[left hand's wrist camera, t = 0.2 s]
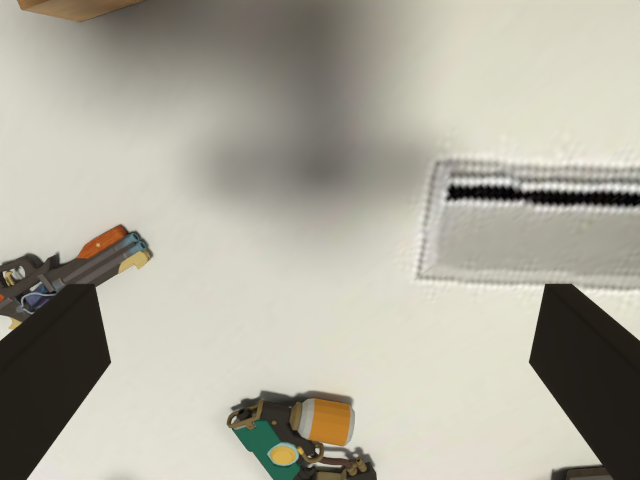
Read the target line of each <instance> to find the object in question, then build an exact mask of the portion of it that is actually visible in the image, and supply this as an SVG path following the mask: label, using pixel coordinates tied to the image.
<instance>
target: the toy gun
mask: <svg viewBox="0 0 640 480" xmlns="http://www.w3.org/2000/svg"><path fill="white" fill-rule="evenodd" d="M137 241H139V237H138V236H137V234H135V233H130V234H128V235H127V233H126V232H125V230H124V229H123V228H122V227H121V226H118V227H116V228H114V229H112V230H110V231H108V232H106V233H104V234H103V235H101V236H99V237H97V238H96V239H94V240H92V241H90V242H89V243H87V244H86V245H85V246H84V247H83V249H82V250H81V252H80V253H79V255H78V256H77V258H76V259H74V260H73V261H71V262H70V263H68V264H66V265H64V266H62V267H58V268H55V266H56V256H55V255H54V256H52V257H49V258H48V259H47V260H46V261H45V263H44V264H43V265H42V266H41V267H38V266H37V264H36V263H35V262H34V261H33V260H32V259H31V258H28V257H21V258H19V259H17V260H15V261H13V262H12V263H9V264H6V265H1V266H0V315H4V316H8V317H10V318H11V320H12V321H13V323H12V324H11V326H10V327H9V328H8V329H15V328H16V327H17V326H19V325H20V324H21V323H22V322H23V321H25V320H26V319H27V318H28V317H29V316H31V315H32V314H33V313H34V312H35V311H36V310H35V309H34V308H40V307H41V306H42V305H44V304H45V303H46V302H47V301H48V300H50V299H51V298H52V297H53V296H54V295H56V294H57V293H58V292H59V291H60V290H62V289H63V288H64V287H65V286H66V285H68V284H95V287H97V286H98V285H100V284H102V283H103V282H105V281H107V280H108V279H110V278H112V277H113V276H115V275H117V274H119V273H120V272H122V271H124V270H126V269H127V268H129V267H131V266H132V265H134V264H135V266H136V267H137V268H138V269H140V268H141V267H142V266H143V265H145V264H146V263H147V262H148V261H149V260H150V257H151V256H150V255H149V253H148V252H147V251H146V245H145V244H144V243H143V242H142V241H139V242H137ZM18 266H22V267H23V268H24V270H25V278H24V279H23V280H21V281H20V282H18V283H16V284H15V283H14V281H13V280H12V278H11V277H10V275H11V274H12V273H13V272H12V271H9V272H6V273H5V278H6V281H5V279H4V277H3V272H4V271H7V270H11V269H14V268H16V267H18ZM8 279H9V280H8ZM9 281H10V282H9ZM40 281H41V282H42V283H43V284H42V285H40V286H39V287H37V288H36V289H35V290H34V291H33V292H31V293H29V294H27V295H25V296H24V295H23V294H22V293H23V292H25V291H26V290H28V289H30V288H31V287H33V286H34V285H36V284H37V283H39V282H40ZM10 283H11V284H12V285H11V284H10Z"/></svg>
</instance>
